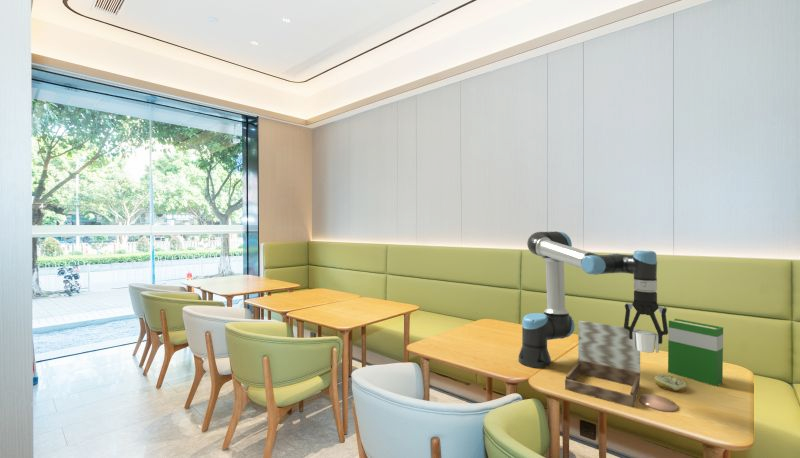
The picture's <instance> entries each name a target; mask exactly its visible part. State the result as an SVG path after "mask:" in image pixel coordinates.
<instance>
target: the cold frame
mask: <svg viewBox="0 0 800 458" xmlns="http://www.w3.org/2000/svg"><path fill="white" fill-rule="evenodd" d="M577 329H578V332H577V333H578V335H577V338H578V339H577V340H578V342H577V344H578V345H577V348H578V349H577V357H578V358H577V362H576V364H575V365H574V366H573V367H572V368H571V369H570V371H569V372H568V373H567V374H566V376H565V379H564V390H567V391H570V392H571V391H572V392H575V393H579V394H583V395H586V396H589V397H594V398H598V399H602V400H604V401H609V402H612V403H616V404H620V405H624V406H627V407H631V408H633V407H634V406H635V402H636V399H637V395H638V393H639V390H640V386H641V384H640V383H641V380H640V379H641V351H638V350H637V347H636V348H635V349H633V339H630V338H629V330H627V329H624V326H618V325H610V324H606V323H605V324H604V323H598V322H592V321H584V320H578V328H577ZM633 330H634V331H637V330H639V329H637V328H634V329H633ZM580 375H583V376H589V377H592V378H597V379H601V380H606V381H609V382H614V383H618V384H622V385H626V386H631V389H630V392H629V393H630V394H628V393H625V392H620V391H617V390H612V389H608V388H604V387H601V386H596V385H592V384H588V383H585V382H580V381H576V379H578V377H579V376H580Z"/></svg>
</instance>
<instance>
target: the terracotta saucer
mask: <svg viewBox="0 0 800 458" xmlns="http://www.w3.org/2000/svg"><path fill="white" fill-rule="evenodd" d="M638 401H639V402H640V404H642V405H643V406H646V407H647V408H649V409H651V410H655V411H660V412H675V411H677V410H678V405H677V404H676V402H675V401H673V400H671V399H669V398H666V397H664V396H661V395H656V394H648V393H647V394H641V395H639V396H638Z"/></svg>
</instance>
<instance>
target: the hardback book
mask: <svg viewBox="0 0 800 458" xmlns="http://www.w3.org/2000/svg"><path fill="white" fill-rule="evenodd" d="M667 335H668V340H667V341H668V346H667V348H668V349H667V352H668V353H667V360H668V361H667V373H669V374H671V375H676V376H679V377H682V378H686V379H689V380H693V381H695V382H700V383H703V384H707V385H709V386H713V387H718V386H719V385H721V384H722V383H723V380H724V379H723V376H724V375H723V374H724V373H723V372H724V371H723V369H724V366H723V365H724V362H723V361H724V327H723V326H718V325H717V326H716V325H713V324H709V323H708V324H707V323H701V322H696V321H690V320H685V319H680V318H674V321H673V320H668V334H667Z"/></svg>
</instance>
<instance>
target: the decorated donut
mask: <svg viewBox="0 0 800 458" xmlns="http://www.w3.org/2000/svg"><path fill="white" fill-rule="evenodd" d="M654 382H655V384H656V385H657V386H658V387H659V388H661V389H664V390H667V391H671V392H672V391H673V392H679V393H680V392H681V393H682V392H686V389H687V383H686V382H685V381H684V380H682V379H680V378H678V377H676V376H671V375H667V374H657V375H656V376H654Z"/></svg>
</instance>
